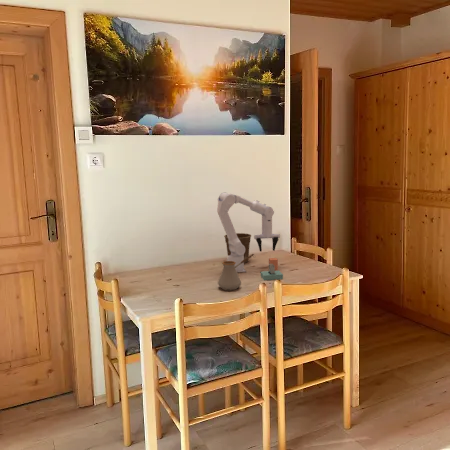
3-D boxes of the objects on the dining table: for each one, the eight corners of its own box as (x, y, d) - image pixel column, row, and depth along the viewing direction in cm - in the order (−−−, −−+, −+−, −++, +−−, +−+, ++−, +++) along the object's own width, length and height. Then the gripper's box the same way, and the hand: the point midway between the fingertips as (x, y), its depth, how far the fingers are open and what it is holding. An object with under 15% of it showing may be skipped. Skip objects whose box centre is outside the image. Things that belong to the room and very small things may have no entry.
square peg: (270, 272, 253) (270, 260, 252) (268, 270, 257) (268, 258, 256) (277, 272, 254) (277, 259, 253) (275, 270, 258) (275, 257, 257)
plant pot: (222, 259, 285) (222, 233, 283) (248, 257, 288) (247, 232, 285) (227, 265, 269) (226, 238, 267) (254, 264, 272) (254, 237, 269)
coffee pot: (226, 293, 219) (225, 262, 217) (213, 287, 228) (212, 257, 226) (261, 285, 231) (261, 255, 228) (248, 279, 240) (247, 251, 238)
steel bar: (270, 279, 241) (270, 265, 240) (268, 276, 245) (268, 263, 244) (274, 278, 241) (274, 265, 240) (272, 276, 245) (272, 263, 244)
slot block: (264, 280, 239) (264, 275, 238) (260, 276, 246) (260, 271, 246) (282, 279, 240) (282, 274, 240) (278, 275, 248) (278, 270, 247)
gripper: (255, 229, 256) (256, 253, 259) (281, 227, 258) (281, 251, 261) (253, 226, 263) (253, 250, 265) (278, 225, 265) (278, 248, 267)
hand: (267, 250), depth 263 cm, fingers open, 7 cm apart
